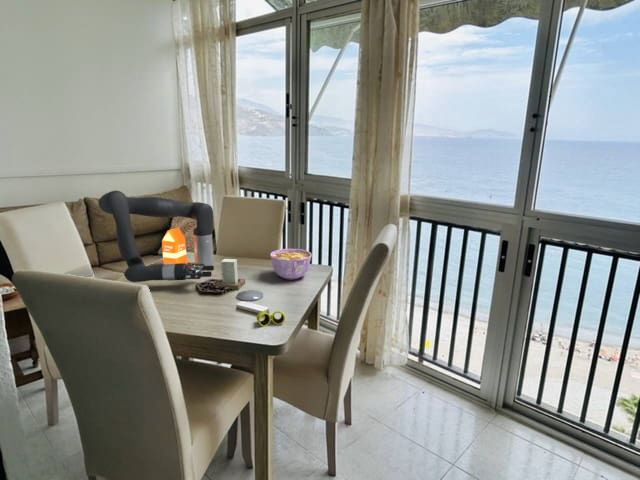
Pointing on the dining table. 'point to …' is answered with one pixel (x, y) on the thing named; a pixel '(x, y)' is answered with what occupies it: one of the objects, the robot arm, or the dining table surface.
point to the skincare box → (229, 271)
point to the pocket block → (232, 286)
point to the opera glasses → (269, 317)
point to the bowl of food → (290, 262)
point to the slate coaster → (250, 295)
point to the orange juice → (174, 247)
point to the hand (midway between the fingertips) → (212, 270)
